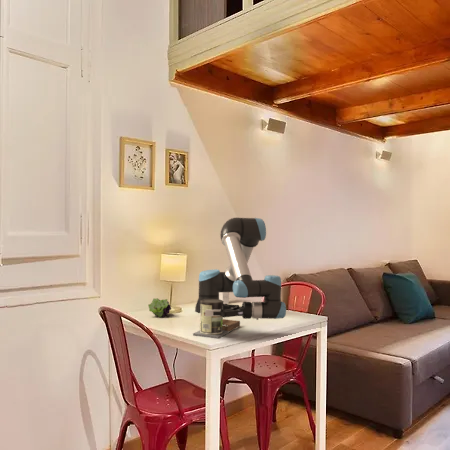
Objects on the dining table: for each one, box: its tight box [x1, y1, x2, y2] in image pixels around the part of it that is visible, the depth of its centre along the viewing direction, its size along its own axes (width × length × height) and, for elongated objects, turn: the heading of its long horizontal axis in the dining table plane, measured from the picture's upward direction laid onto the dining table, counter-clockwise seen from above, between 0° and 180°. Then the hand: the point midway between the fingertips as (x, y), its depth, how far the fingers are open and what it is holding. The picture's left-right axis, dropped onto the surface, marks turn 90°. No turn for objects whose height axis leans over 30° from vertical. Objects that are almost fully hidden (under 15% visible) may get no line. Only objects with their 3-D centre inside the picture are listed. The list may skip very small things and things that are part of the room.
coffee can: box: [199, 299, 224, 335], centre depth 202 cm, size 10×10×14 cm
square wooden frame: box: [223, 318, 241, 332], centre depth 216 cm, size 14×14×2 cm
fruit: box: [148, 298, 172, 318], centre depth 240 cm, size 10×10×15 cm
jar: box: [219, 292, 230, 304], centre depth 285 cm, size 9×8×12 cm
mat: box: [192, 330, 230, 339], centre depth 202 cm, size 12×12×1 cm
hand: (204, 310), depth 202 cm, fingers open, 13 cm apart
